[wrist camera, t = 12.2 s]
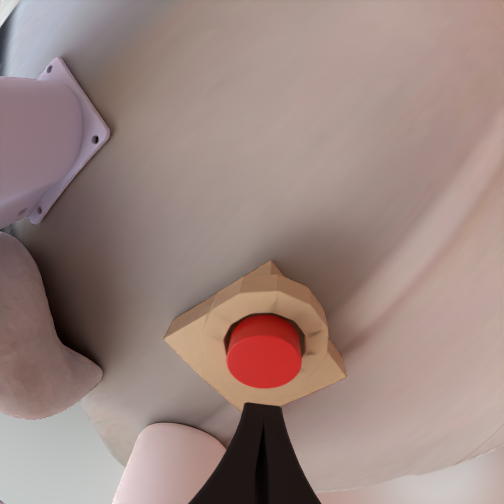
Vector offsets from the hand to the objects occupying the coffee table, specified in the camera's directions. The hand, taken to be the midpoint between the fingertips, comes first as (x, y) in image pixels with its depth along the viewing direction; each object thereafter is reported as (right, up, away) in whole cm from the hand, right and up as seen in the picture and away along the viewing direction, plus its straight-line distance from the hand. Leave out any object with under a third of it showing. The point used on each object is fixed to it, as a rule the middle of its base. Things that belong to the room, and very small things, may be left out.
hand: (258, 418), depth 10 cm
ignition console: (0, +1, +9) cm, 9 cm away
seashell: (-19, +1, +11) cm, 21 cm away
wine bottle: (-7, -13, +15) cm, 22 cm away
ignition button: (0, +2, +5) cm, 5 cm away
